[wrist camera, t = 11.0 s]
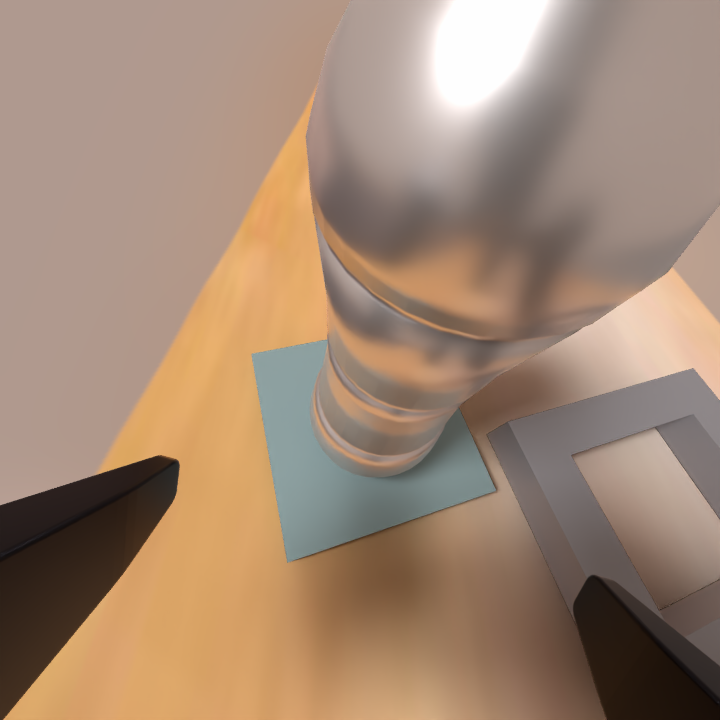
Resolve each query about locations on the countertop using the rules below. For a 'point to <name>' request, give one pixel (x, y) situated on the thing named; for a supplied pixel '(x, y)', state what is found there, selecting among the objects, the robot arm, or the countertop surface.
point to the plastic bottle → (494, 193)
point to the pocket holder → (577, 503)
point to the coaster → (337, 486)
